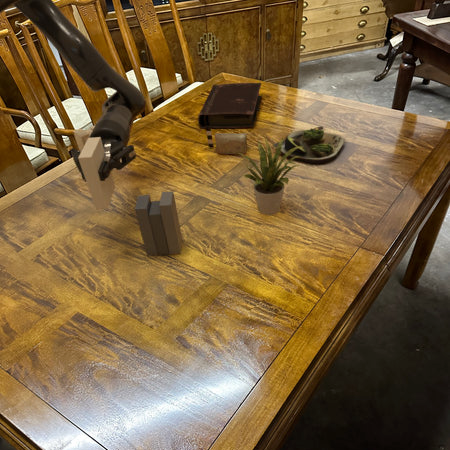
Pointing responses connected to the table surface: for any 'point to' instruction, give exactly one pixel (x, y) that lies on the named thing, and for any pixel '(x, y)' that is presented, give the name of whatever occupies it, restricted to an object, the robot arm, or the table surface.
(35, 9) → the robot arm
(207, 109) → the diary
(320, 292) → the table surface
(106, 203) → the beige book
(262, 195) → the house plant
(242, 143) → the cuneiform tablet
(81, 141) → the beige books
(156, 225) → the grey books
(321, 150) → the salad plate
